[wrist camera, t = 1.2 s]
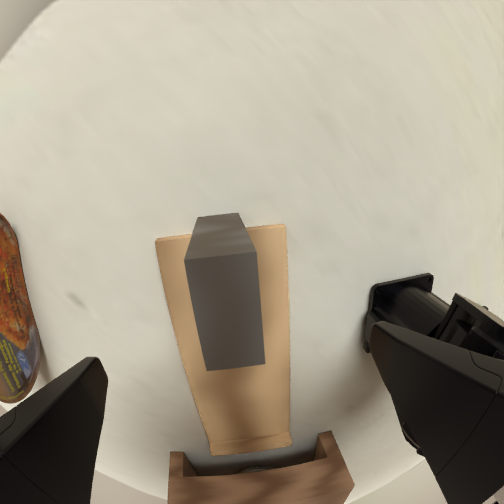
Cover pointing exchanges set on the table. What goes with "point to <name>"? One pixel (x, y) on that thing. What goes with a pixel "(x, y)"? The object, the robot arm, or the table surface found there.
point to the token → (255, 469)
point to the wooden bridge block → (266, 481)
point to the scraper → (232, 328)
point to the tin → (15, 323)
